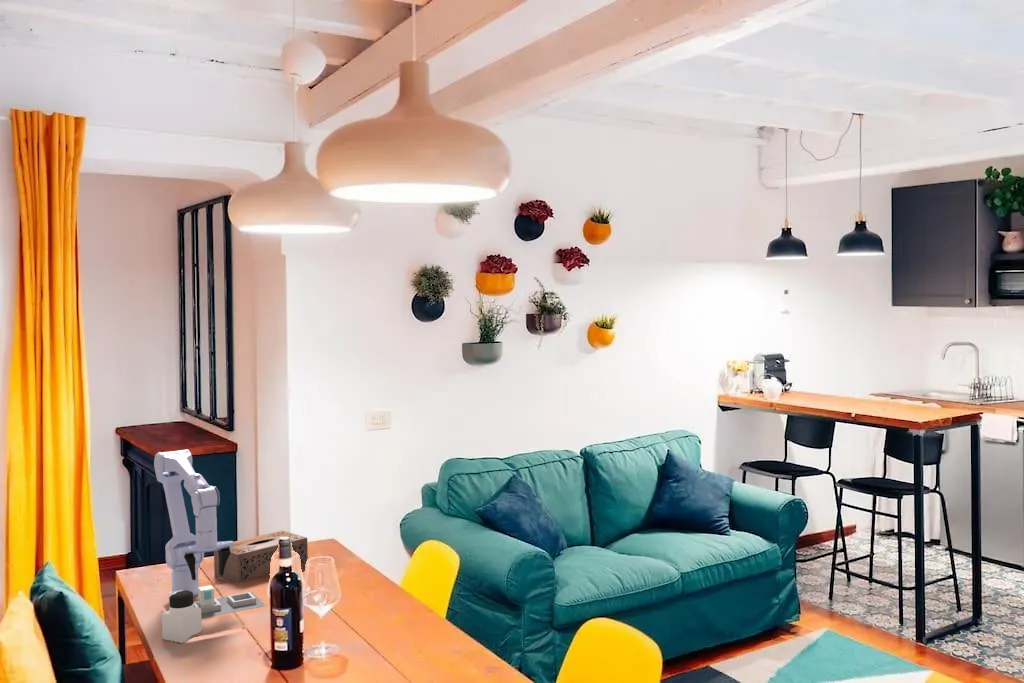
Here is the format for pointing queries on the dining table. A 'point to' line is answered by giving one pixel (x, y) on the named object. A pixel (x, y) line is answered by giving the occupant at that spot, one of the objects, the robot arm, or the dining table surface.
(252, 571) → the tissue box cover
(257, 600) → the grey flat plate
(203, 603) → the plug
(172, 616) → the medicine bottle
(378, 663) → the dining table surface
